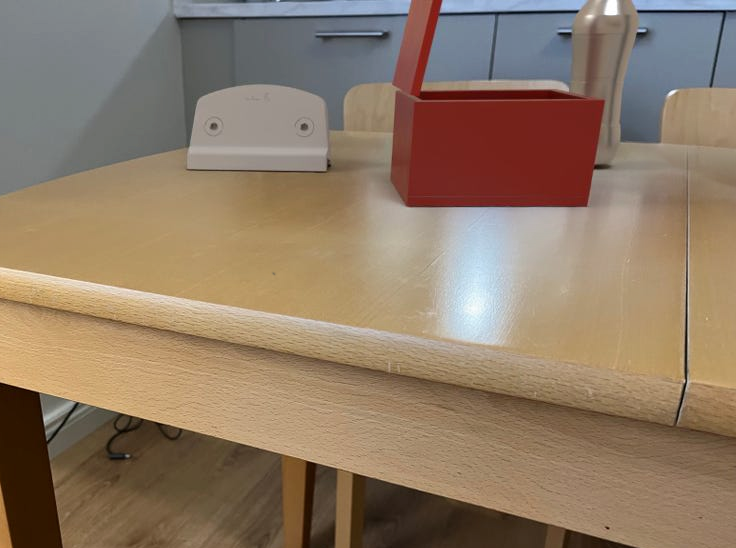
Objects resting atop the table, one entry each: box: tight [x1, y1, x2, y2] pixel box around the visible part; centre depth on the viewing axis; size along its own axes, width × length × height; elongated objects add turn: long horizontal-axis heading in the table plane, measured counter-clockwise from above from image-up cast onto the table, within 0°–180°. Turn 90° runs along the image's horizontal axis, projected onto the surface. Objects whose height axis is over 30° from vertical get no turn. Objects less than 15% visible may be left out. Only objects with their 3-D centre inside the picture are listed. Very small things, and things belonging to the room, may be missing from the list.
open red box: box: [389, 88, 605, 207], centre depth 71 cm, size 16×13×9 cm
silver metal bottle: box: [568, 0, 640, 167], centre depth 82 cm, size 6×7×20 cm
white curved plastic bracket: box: [186, 83, 333, 173], centre depth 87 cm, size 17×5×10 cm, turn 81°
